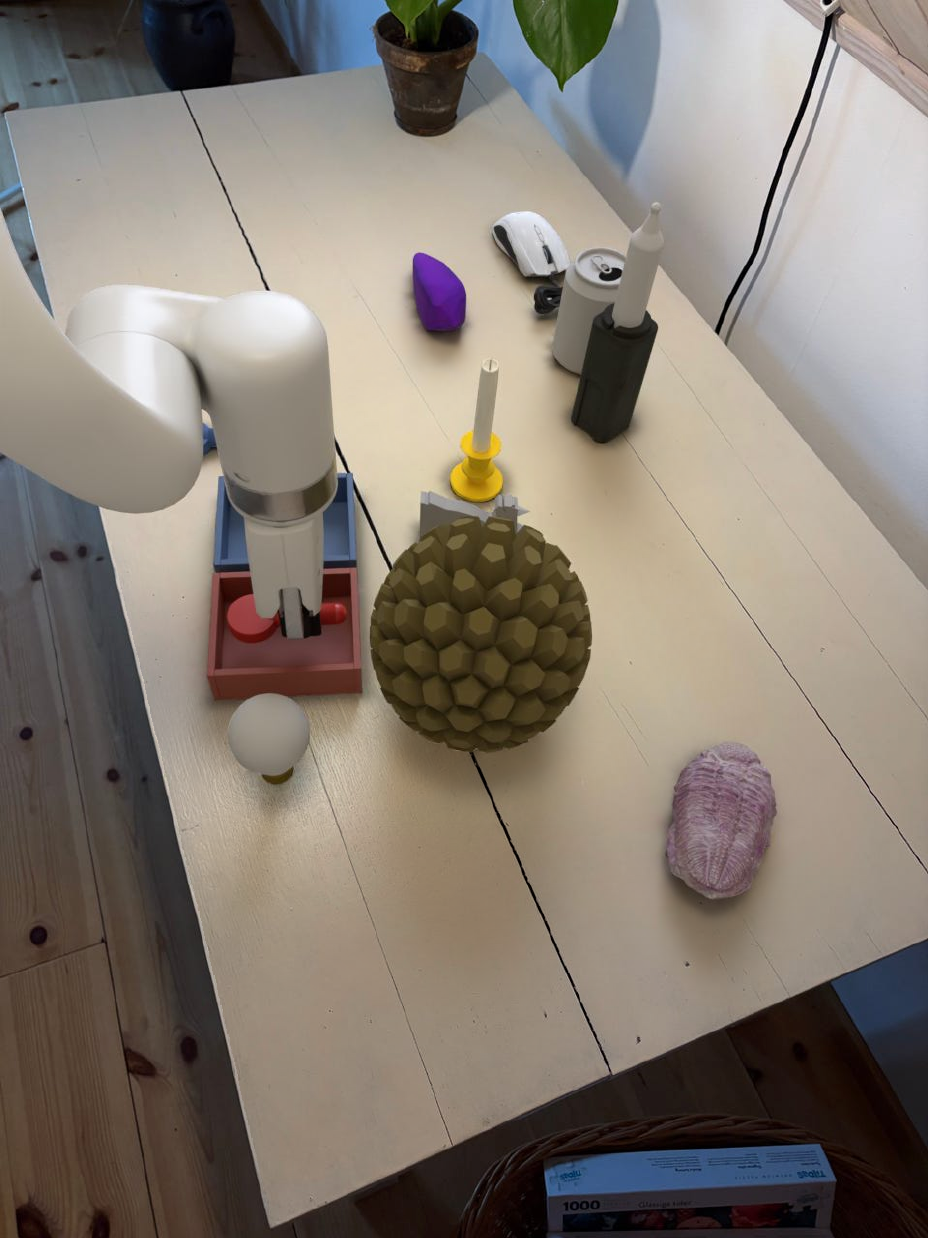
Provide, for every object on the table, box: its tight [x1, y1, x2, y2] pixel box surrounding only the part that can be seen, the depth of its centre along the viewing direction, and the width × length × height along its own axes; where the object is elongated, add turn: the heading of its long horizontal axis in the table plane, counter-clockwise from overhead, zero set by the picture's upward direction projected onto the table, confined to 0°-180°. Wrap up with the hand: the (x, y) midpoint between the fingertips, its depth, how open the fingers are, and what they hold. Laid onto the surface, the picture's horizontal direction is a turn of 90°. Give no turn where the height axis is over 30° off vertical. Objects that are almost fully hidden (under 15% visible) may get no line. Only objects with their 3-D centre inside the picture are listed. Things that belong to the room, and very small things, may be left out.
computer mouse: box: [491, 210, 572, 315], centre depth 111 cm, size 10×18×4 cm, turn 26°
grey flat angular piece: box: [418, 490, 531, 543], centre depth 87 cm, size 6×1×10 cm
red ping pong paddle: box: [227, 594, 347, 643], centre depth 78 cm, size 10×4×2 cm, turn 96°
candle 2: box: [570, 201, 665, 444], centre depth 89 cm, size 5×5×25 cm
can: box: [551, 246, 627, 376], centre depth 100 cm, size 8×8×12 cm
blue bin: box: [212, 472, 358, 573], centre depth 86 cm, size 12×10×4 cm
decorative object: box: [369, 516, 593, 754], centre depth 71 cm, size 17×17×20 cm
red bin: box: [206, 567, 363, 701], centre depth 80 cm, size 12×10×4 cm
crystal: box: [412, 252, 467, 332], centre depth 106 cm, size 5×5×15 cm
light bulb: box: [227, 693, 311, 786], centre depth 71 cm, size 6×6×10 cm
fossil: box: [665, 741, 778, 901], centre depth 73 cm, size 8×14×5 cm, turn 159°
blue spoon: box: [203, 422, 217, 457], centre depth 93 cm, size 10×4×2 cm, turn 96°
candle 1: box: [449, 357, 504, 503], centre depth 87 cm, size 5×5×16 cm
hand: (302, 620), depth 78 cm, fingers closed on red ping pong paddle, 1 cm apart
